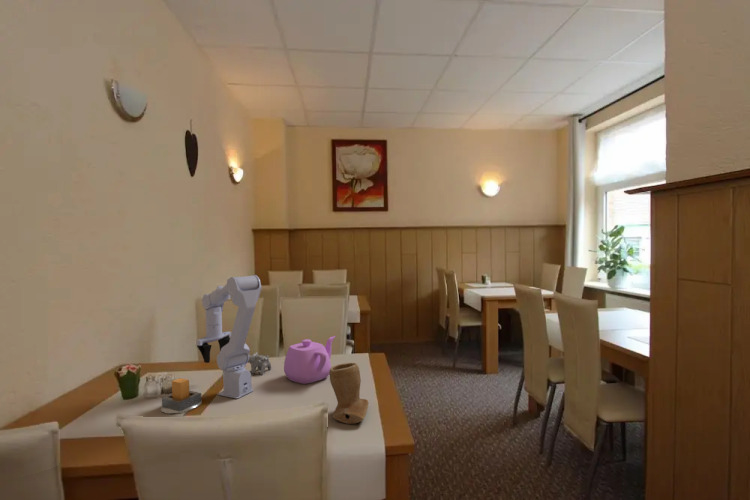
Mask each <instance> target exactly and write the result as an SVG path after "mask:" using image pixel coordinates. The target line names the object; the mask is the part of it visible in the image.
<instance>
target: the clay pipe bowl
mask: <svg viewBox="0 0 750 500" xmlns="http://www.w3.org/2000/svg"><path fill="white" fill-rule="evenodd" d="M328 376H329V381H330V384H331V387H332V389H333V392H334V395H335V397H336V401H337V405H336V407H335V410H334V412H333V415H332V418H333V419H335V420H337V421H338V422H340V423H344V424H350V425H352V424H354V425H355V424H357V423H361V422H363V421H364V420H365V418H366V415H367V412H368V408H369V399H366V398H365V399H364V398H360V393H361V392H360V391H361V390H360V389H361V381H362V379H361V372H360V367H359V365H358V364H357V363H355V362H346V363H340V364H336V365H334V366H331V369H330V370H329V375H328Z"/></svg>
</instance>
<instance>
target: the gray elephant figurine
mask: <svg viewBox="0 0 750 500" xmlns="http://www.w3.org/2000/svg"><path fill="white" fill-rule="evenodd" d="M247 364H250V370H251V371H250V373H251V375H254V374H256V371H257V370H258V371H259V375H260V376H263V375H264V373H265V370H266V369H267V370H269V371H270V370H272V364H271V361H270V356H269V355H262V354H259V353H258V351H256V352H255V353H254V352H253V354H251V355H250V354H249V361H248V363H247Z"/></svg>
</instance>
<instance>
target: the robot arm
mask: <svg viewBox="0 0 750 500" xmlns="http://www.w3.org/2000/svg"><path fill="white" fill-rule="evenodd" d="M261 292H262V283H261V279H260V277H259V276H258V275H257V274H253V275H246V276H245V275H244V276H230V277H229V278H227V280H226V284H225V285H217V286H216V289H214V290H212V291H211V293H204V294H203V295H202V297H201V303H202V307H203V309H204V310H205V311H204V312H205V332H206V333H205V334H206V335H205V336H203V337H201V338H199V339H196V348H197V349H198V350H199V352H200V354H201V356H202V359H203V362H204V363H206V364H208V363H210V361H211V350H212V344H209V343H211V342H216V341H217V342H218V345H219V353H218V354H217V356H216V364H217V366H218V367H217V368H219V369H220V371H222V379H223V382H222V383H223V385H222V386H223V390H222V391H220V392H218V393H217V396H221V397H227V398H231V399H239V398H241V397H244V396H246V395H248V394H249V393H252V392H253V391H254V388H252V386H253V384H252V373H251V371H250V370H248V369H246V367H247V364H249V363H248V361H249V356H250V352H251V351H250V350H251V349H250V347H249V345H248V344H247V343H246V341H247V337H248V334H249V331H250V327H251V324H252V321H253V317H254V312H255V310H256V305H257V302H258V301H259V298H260V295H261ZM230 299H231V302H232V305H235V306H237V312H236V315H235V319H234V322H233V323H234V324H233V326H232V330H231V331H224V332H223V316H222V315H223V314H222V312H223V310H224V305H225V303H226V301H229V300H230Z"/></svg>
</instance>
